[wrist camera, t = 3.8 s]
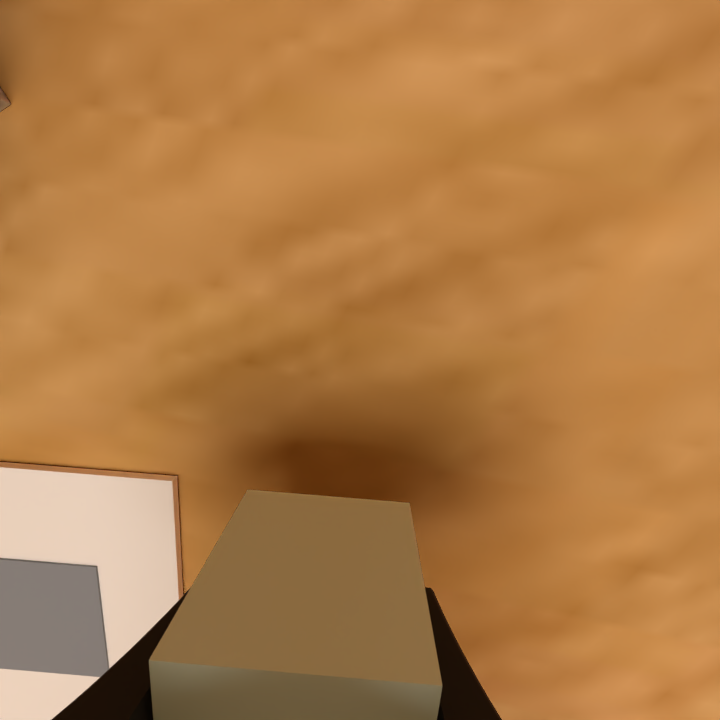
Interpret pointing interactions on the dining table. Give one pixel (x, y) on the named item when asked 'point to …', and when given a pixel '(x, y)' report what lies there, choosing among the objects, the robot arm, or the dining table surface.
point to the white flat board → (79, 577)
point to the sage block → (303, 618)
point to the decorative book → (3, 100)
